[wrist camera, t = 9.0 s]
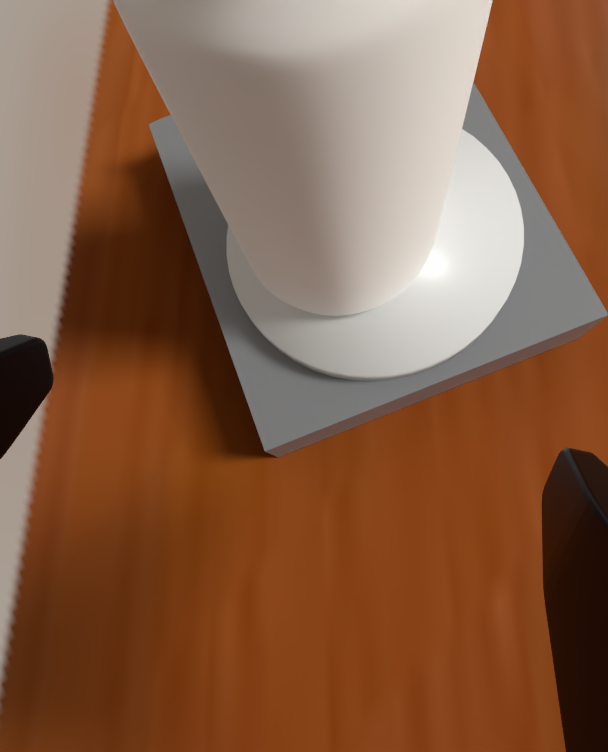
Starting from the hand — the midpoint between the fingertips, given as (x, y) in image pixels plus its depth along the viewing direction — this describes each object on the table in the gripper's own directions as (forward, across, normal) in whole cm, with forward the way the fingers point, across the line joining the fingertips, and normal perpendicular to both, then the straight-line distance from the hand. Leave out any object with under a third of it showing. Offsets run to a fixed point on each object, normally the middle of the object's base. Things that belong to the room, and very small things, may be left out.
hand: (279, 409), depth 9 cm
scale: (+14, +1, +1) cm, 14 cm away
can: (+11, +1, 0) cm, 11 cm away
